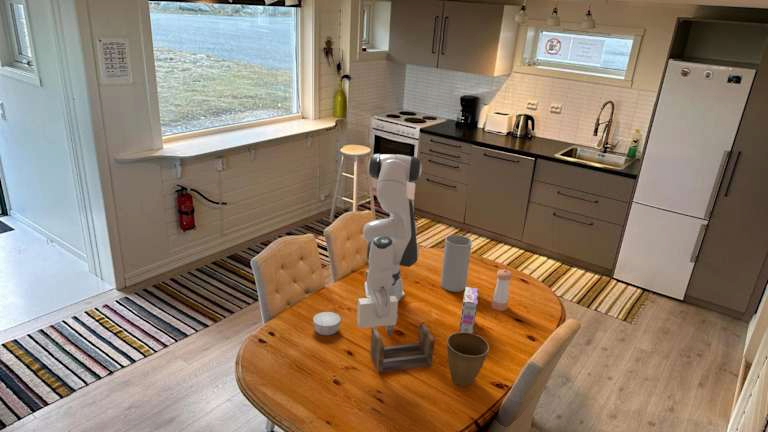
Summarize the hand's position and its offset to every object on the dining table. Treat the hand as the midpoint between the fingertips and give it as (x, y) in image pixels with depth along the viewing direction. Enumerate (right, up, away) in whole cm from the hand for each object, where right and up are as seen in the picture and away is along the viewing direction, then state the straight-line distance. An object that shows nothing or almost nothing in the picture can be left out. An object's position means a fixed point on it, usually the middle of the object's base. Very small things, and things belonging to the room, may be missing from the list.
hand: (377, 313), depth 197 cm
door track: (+9, -19, +9) cm, 23 cm away
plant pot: (+31, -25, 0) cm, 40 cm away
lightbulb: (+5, -13, +25) cm, 29 cm away
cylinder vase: (+37, +1, +67) cm, 77 cm away
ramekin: (-21, -11, +25) cm, 35 cm away
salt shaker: (+56, -6, +52) cm, 77 cm away
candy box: (+38, -12, +33) cm, 52 cm away
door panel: (0, -4, +1) cm, 4 cm away
